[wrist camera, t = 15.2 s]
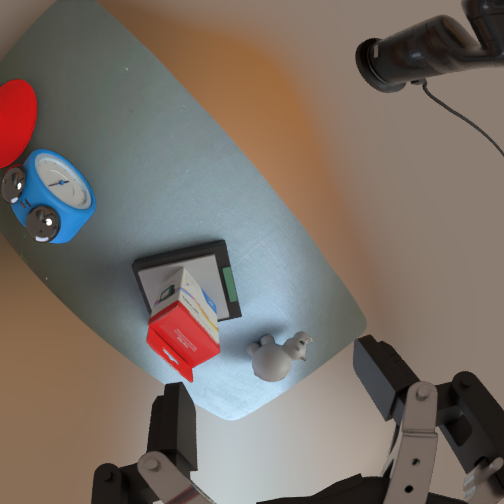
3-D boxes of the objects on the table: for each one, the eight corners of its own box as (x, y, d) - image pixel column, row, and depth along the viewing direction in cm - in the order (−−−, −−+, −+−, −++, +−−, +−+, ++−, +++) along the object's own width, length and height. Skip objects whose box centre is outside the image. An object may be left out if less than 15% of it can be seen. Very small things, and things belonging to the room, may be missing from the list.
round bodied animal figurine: (310, 336, 52) (326, 363, 44) (259, 365, 53) (268, 395, 45) (295, 312, 49) (311, 339, 42) (240, 344, 50) (247, 374, 42)
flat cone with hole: (0, 184, 31) (-23, 190, 25) (-19, 119, 26) (-40, 118, 19) (55, 131, 32) (32, 129, 25) (34, 65, 26) (13, 56, 19)
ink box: (217, 305, 43) (225, 369, 29) (192, 321, 43) (192, 386, 29) (183, 265, 40) (175, 320, 26) (158, 282, 40) (141, 342, 26)
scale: (224, 239, 43) (226, 245, 40) (240, 309, 47) (242, 319, 44) (134, 259, 41) (130, 267, 38) (158, 326, 46) (156, 336, 43)
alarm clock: (108, 204, 37) (65, 229, 24) (85, 230, 38) (39, 265, 24) (62, 147, 33) (6, 148, 19) (41, 174, 33) (-16, 187, 19)
